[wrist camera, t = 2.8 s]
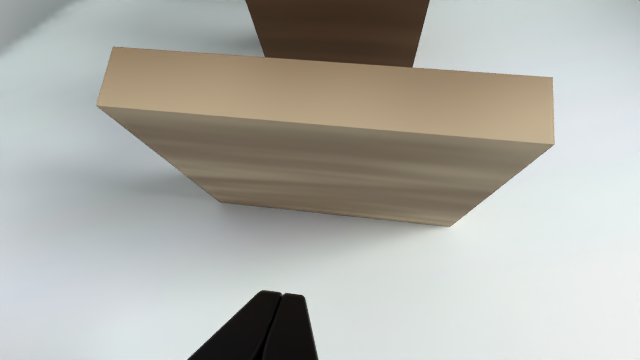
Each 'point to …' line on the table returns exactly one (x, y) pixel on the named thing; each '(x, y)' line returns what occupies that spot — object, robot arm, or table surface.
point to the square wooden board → (332, 130)
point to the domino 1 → (340, 30)
